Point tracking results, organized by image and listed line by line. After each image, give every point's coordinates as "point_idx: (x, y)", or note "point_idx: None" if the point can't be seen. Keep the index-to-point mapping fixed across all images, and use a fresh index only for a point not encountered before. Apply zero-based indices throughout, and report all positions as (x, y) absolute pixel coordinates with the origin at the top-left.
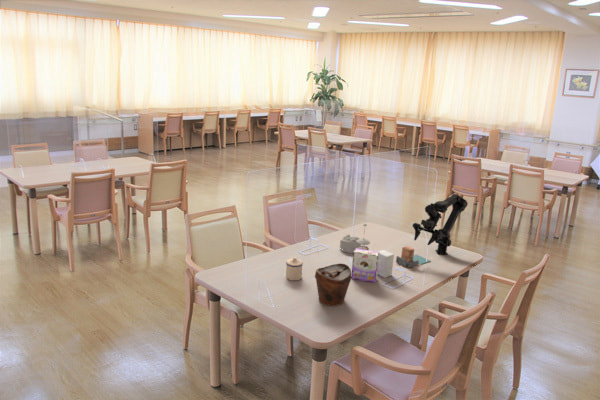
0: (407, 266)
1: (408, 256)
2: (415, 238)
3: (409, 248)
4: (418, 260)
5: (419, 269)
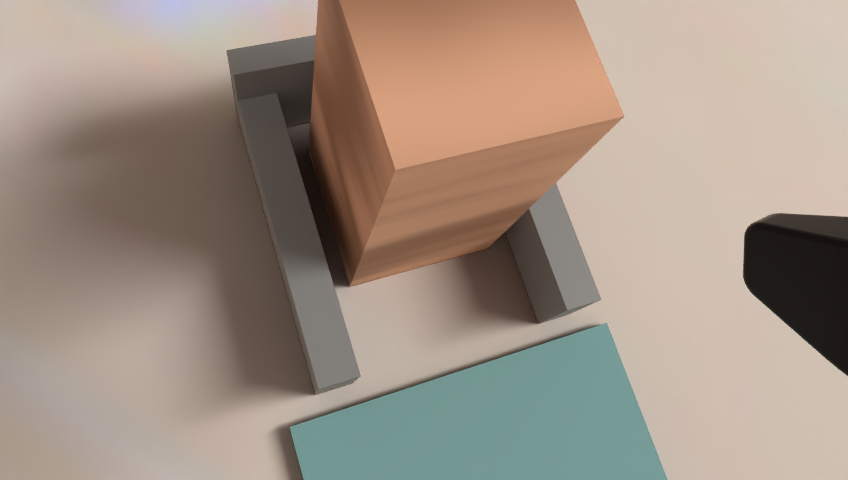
0: (235, 103)
1: (319, 68)
2: (817, 251)
3: (453, 50)
4: (321, 384)
5: (100, 285)
